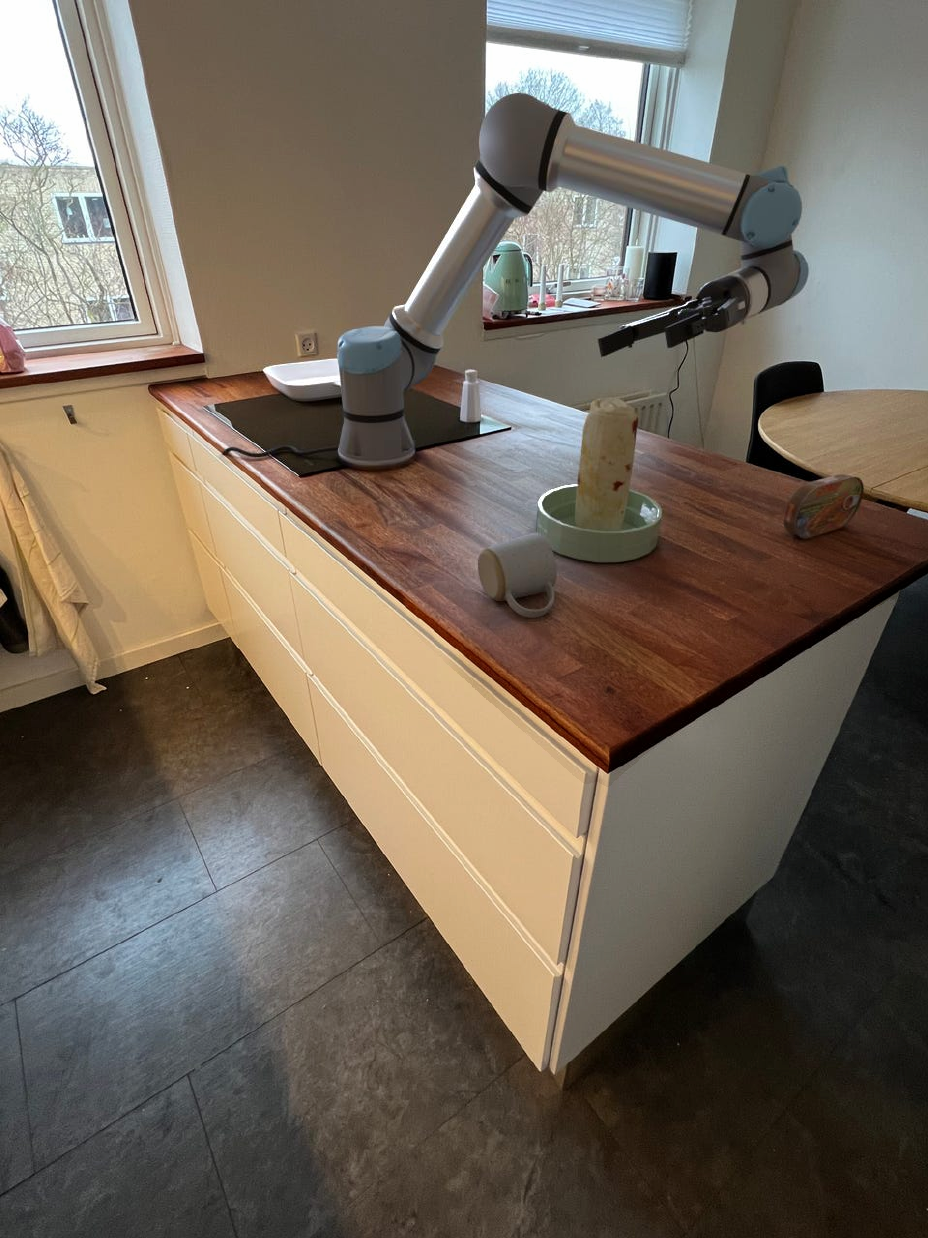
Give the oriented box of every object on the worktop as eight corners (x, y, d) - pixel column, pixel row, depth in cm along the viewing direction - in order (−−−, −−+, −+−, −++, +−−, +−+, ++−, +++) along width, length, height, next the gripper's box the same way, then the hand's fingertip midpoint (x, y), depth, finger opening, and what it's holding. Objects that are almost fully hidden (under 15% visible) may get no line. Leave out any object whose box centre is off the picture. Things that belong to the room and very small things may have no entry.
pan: (349, 373, 191) (347, 356, 188) (415, 405, 161) (414, 386, 158) (260, 384, 179) (257, 366, 176) (313, 420, 149) (311, 400, 146)
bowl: (569, 573, 88) (572, 540, 85) (517, 521, 102) (519, 491, 99) (680, 553, 93) (687, 522, 90) (616, 506, 107) (620, 478, 104)
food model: (632, 543, 94) (655, 407, 83) (594, 551, 92) (612, 412, 81) (596, 518, 102) (613, 390, 91) (560, 525, 100) (573, 394, 89)
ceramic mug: (473, 586, 84) (474, 534, 80) (526, 573, 87) (530, 522, 83) (513, 628, 76) (516, 573, 72) (569, 611, 80) (576, 558, 75)
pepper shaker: (455, 421, 149) (455, 371, 143) (464, 415, 153) (464, 367, 147) (477, 423, 147) (477, 374, 141) (485, 417, 152) (486, 369, 145)
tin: (790, 543, 95) (807, 490, 91) (773, 535, 98) (788, 483, 93) (855, 524, 101) (873, 474, 97) (837, 517, 104) (854, 467, 99)
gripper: (805, 314, 91) (705, 362, 84) (671, 334, 112) (582, 374, 105) (801, 257, 88) (697, 301, 81) (665, 289, 109) (572, 326, 101)
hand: (632, 343), depth 93 cm, fingers open, 13 cm apart
